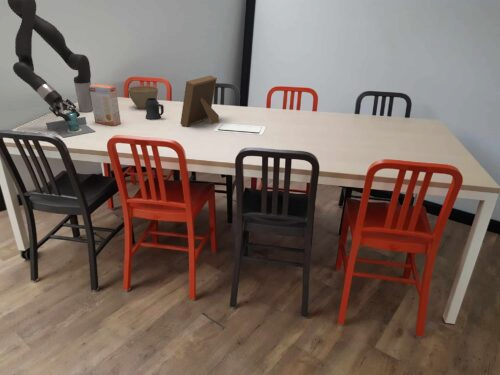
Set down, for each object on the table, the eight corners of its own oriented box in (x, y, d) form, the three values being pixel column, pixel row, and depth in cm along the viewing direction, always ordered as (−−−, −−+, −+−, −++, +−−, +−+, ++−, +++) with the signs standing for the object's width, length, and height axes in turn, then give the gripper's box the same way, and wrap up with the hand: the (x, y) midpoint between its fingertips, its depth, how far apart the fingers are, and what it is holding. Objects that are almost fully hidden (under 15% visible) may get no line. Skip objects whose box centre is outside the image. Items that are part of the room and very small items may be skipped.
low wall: (86, 123, 209) (84, 116, 207) (86, 124, 208) (85, 117, 207) (47, 130, 197) (45, 122, 196) (47, 130, 197) (46, 123, 195)
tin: (77, 128, 200) (74, 111, 196) (80, 130, 197) (77, 113, 193) (67, 129, 197) (64, 113, 193) (70, 132, 194) (67, 115, 190)
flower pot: (155, 111, 234) (153, 91, 229) (126, 110, 235) (124, 91, 229) (162, 104, 251) (160, 85, 245) (135, 103, 251) (133, 85, 245)
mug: (142, 118, 220) (140, 99, 215) (152, 114, 227) (150, 96, 222) (158, 121, 215) (157, 102, 210) (168, 117, 223) (166, 98, 218)
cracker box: (121, 123, 210) (116, 86, 201) (113, 126, 205) (108, 88, 196) (102, 120, 215) (96, 83, 206) (94, 122, 211) (88, 85, 201)
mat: (85, 124, 207) (85, 123, 207) (95, 131, 197) (95, 131, 196) (54, 129, 198) (54, 129, 198) (63, 137, 187) (63, 137, 187)
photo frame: (180, 125, 209) (178, 80, 198) (203, 116, 226) (202, 74, 215) (201, 130, 202) (200, 83, 191) (224, 121, 219) (224, 77, 208)
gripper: (43, 92, 183) (69, 117, 186) (61, 87, 196) (85, 110, 199) (36, 102, 186) (61, 126, 190) (55, 96, 199) (78, 119, 202)
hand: (74, 118), depth 194 cm, fingers open, 8 cm apart
